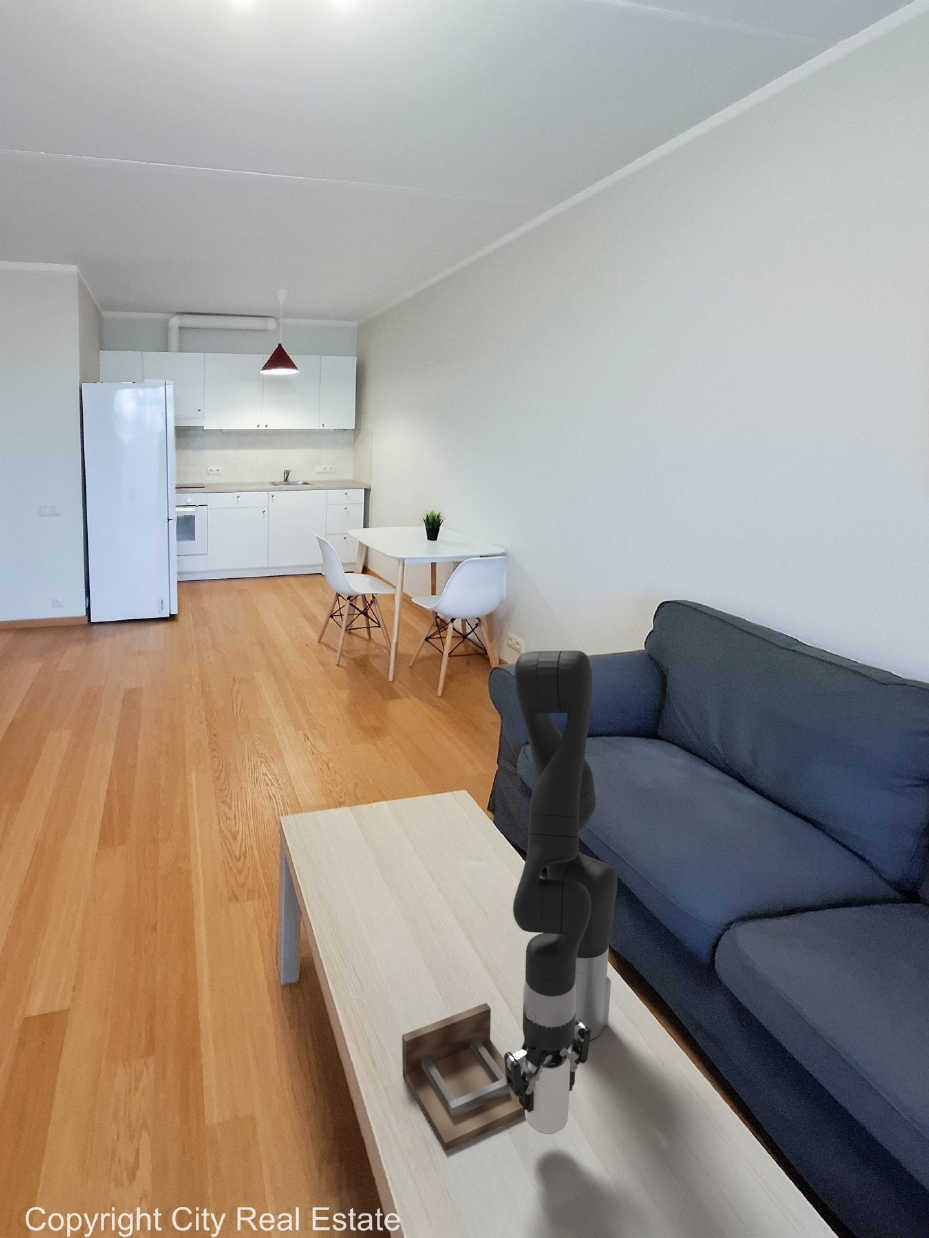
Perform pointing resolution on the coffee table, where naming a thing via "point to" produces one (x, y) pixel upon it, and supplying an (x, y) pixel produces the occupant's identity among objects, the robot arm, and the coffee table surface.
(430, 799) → the coffee table surface
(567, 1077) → the can
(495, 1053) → the wall board
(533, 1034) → the robot arm
